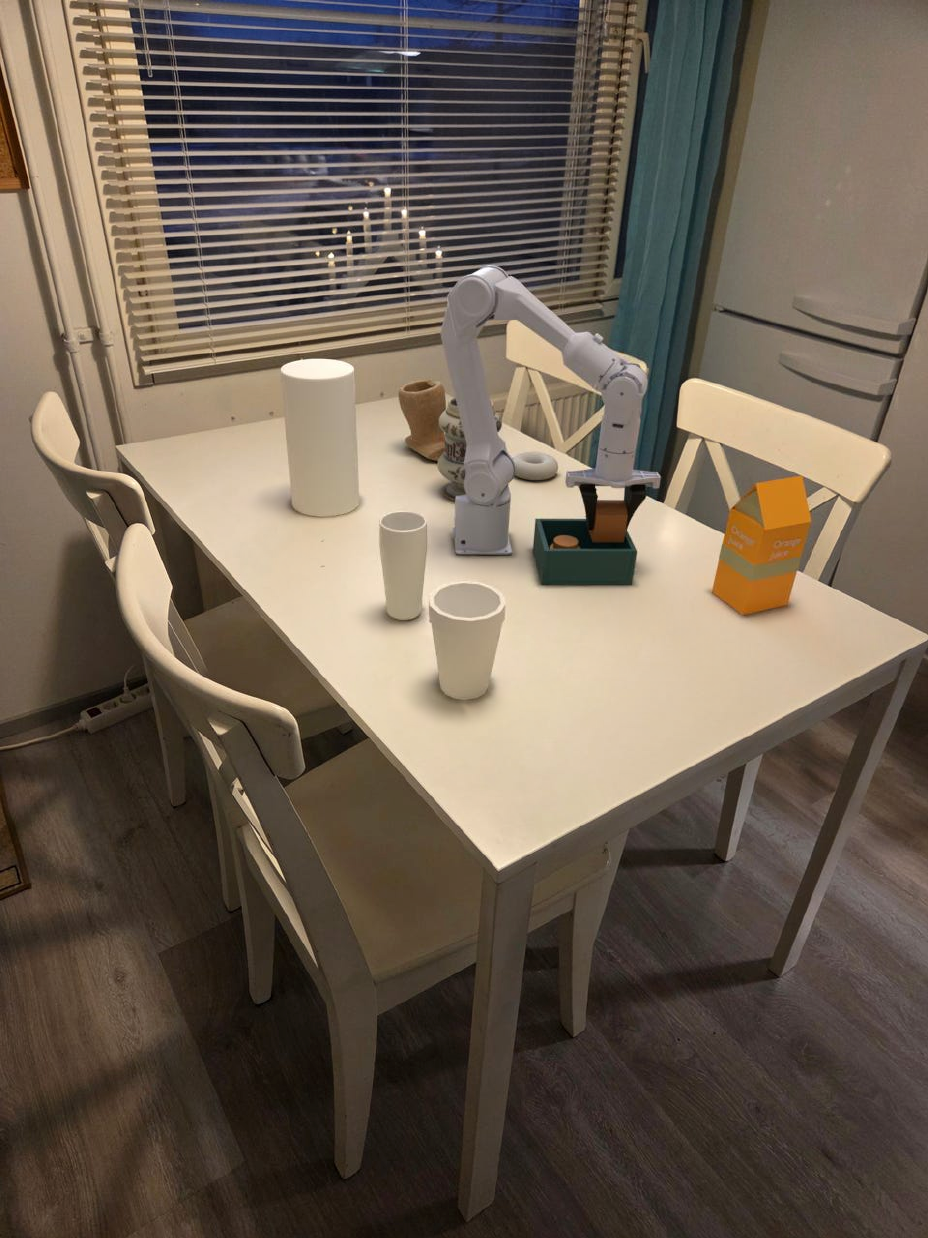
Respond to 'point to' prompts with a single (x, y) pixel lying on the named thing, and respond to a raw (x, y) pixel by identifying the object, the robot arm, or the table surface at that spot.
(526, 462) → the donut
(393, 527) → the drinking glass
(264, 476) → the table surface
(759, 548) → the orange juice
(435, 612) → the foam cup
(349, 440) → the cylinder
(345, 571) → the table surface
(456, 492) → the apothecary jar
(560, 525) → the dark green open box
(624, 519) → the square bread
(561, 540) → the round bread
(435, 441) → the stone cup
